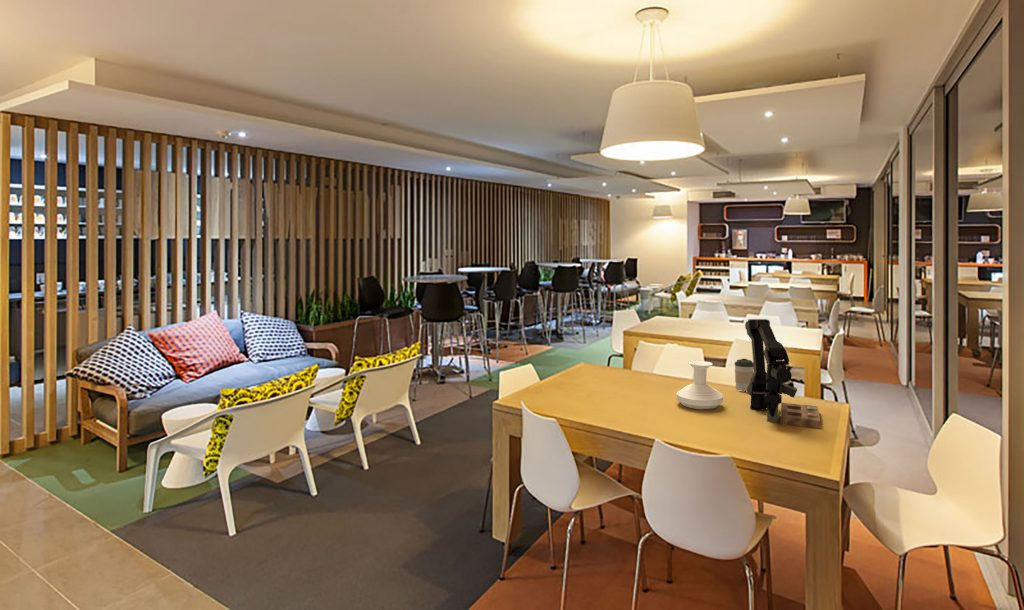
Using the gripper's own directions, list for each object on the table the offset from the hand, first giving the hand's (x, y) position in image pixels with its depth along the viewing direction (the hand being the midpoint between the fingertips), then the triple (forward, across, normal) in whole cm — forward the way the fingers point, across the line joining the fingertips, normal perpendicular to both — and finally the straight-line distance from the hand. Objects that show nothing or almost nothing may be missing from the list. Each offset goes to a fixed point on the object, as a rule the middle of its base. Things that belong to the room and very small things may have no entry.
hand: (772, 414), depth 241 cm
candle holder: (+3, +10, +30) cm, 32 cm away
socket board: (+2, +7, -10) cm, 12 cm away
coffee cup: (+3, +46, +14) cm, 48 cm away
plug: (+2, 0, 0) cm, 2 cm away
